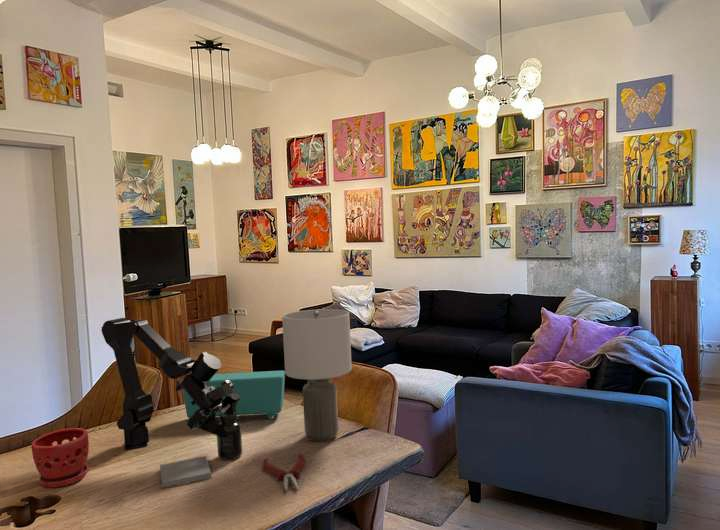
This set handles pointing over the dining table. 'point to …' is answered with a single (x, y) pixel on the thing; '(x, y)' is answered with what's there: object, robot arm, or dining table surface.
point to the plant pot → (61, 456)
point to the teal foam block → (249, 392)
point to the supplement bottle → (229, 436)
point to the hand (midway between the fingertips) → (233, 432)
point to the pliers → (283, 475)
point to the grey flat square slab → (185, 471)
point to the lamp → (318, 364)
